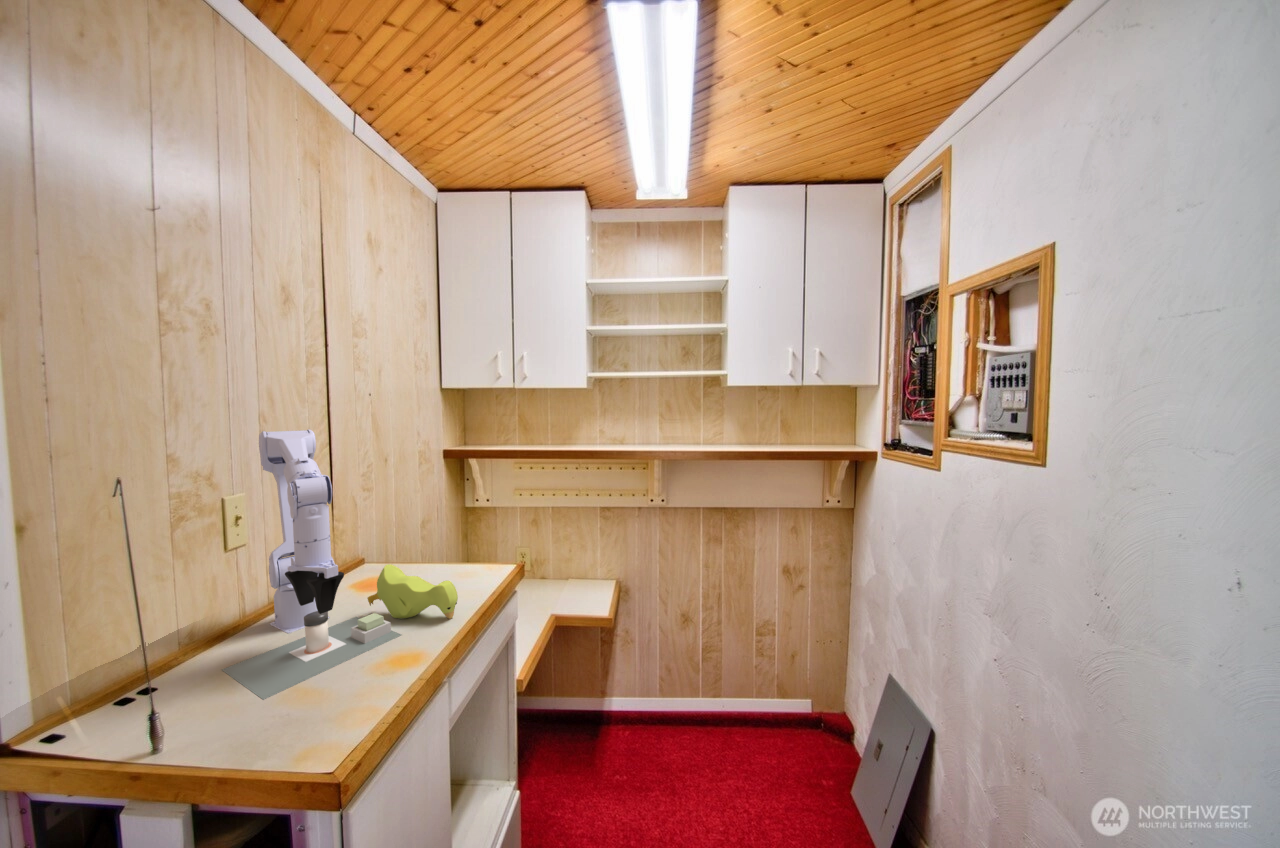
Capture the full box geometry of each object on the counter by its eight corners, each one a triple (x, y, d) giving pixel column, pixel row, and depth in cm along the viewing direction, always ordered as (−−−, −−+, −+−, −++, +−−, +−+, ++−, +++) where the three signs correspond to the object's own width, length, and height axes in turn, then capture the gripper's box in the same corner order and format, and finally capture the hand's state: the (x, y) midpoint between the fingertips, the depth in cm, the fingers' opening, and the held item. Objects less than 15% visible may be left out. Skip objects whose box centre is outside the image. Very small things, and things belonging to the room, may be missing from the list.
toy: (379, 647, 98) (452, 621, 94) (354, 578, 99) (426, 549, 95) (399, 633, 104) (469, 608, 100) (376, 568, 105) (444, 541, 101)
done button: (358, 631, 90) (357, 619, 90) (375, 624, 93) (374, 613, 93) (367, 635, 88) (366, 623, 88) (384, 628, 91) (383, 616, 91)
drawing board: (221, 672, 79) (220, 658, 79) (356, 618, 99) (355, 607, 99) (263, 702, 70) (262, 687, 70) (402, 637, 90) (401, 625, 90)
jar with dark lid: (302, 650, 85) (300, 616, 85) (324, 641, 88) (322, 608, 88) (311, 655, 83) (309, 620, 83) (333, 645, 86) (331, 612, 86)
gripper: (271, 539, 85) (274, 608, 86) (306, 549, 78) (309, 624, 78) (312, 530, 91) (315, 594, 92) (348, 539, 84) (352, 608, 84)
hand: (315, 607), depth 85 cm, fingers open, 7 cm apart
